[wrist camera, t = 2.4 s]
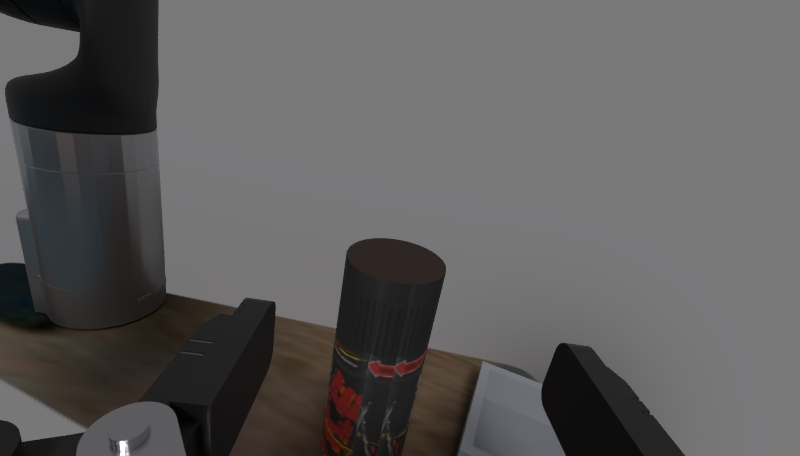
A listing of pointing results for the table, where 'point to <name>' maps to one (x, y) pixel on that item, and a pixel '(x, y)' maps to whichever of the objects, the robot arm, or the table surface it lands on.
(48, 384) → the table surface
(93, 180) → the robot arm
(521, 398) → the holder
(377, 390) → the deodorant
